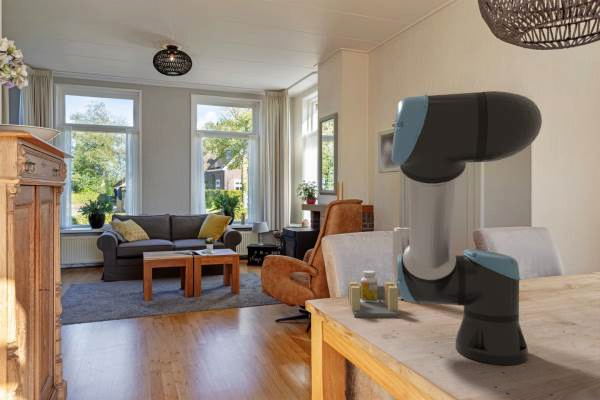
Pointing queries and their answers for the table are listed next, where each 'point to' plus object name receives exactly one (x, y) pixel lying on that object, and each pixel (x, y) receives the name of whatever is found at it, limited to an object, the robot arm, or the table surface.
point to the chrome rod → (399, 250)
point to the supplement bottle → (369, 287)
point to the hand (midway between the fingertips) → (428, 229)
